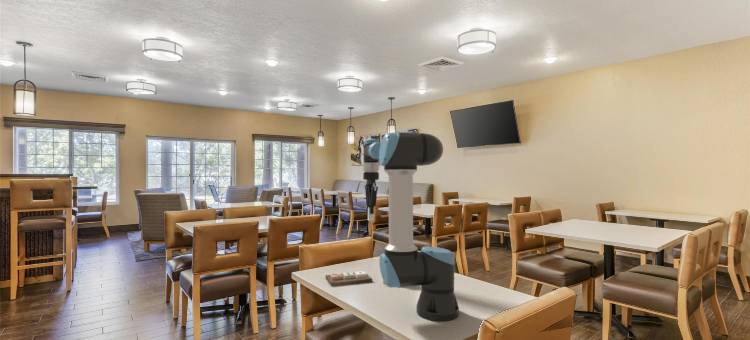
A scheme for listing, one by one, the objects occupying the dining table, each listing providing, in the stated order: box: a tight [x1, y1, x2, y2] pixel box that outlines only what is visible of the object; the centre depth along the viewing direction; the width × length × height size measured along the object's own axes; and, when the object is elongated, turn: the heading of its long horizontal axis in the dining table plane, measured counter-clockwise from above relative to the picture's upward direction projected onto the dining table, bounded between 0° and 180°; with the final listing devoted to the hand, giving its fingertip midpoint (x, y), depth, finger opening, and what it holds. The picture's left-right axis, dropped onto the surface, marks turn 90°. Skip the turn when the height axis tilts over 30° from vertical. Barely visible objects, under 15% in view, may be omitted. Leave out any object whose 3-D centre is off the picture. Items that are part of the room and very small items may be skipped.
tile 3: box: [329, 273, 342, 280], centre depth 171 cm, size 4×4×3 cm
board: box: [325, 271, 373, 287], centre depth 173 cm, size 12×19×2 cm, turn 109°
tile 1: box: [354, 270, 368, 278], centre depth 175 cm, size 4×4×3 cm
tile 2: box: [342, 271, 355, 279], centre depth 173 cm, size 4×4×3 cm
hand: (370, 220), depth 181 cm, fingers closed
